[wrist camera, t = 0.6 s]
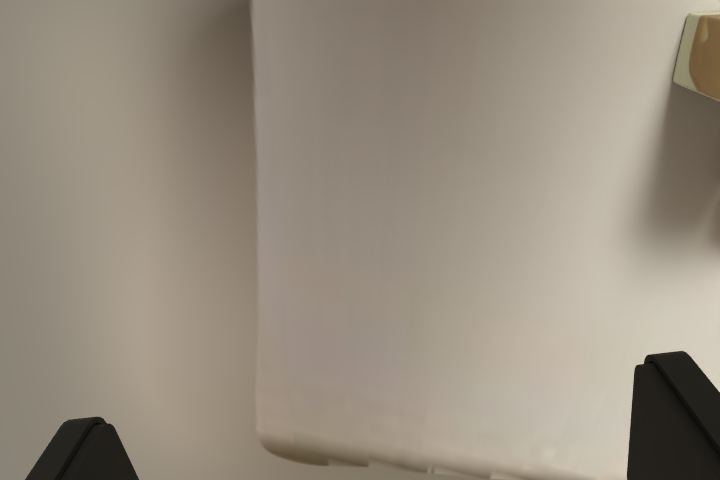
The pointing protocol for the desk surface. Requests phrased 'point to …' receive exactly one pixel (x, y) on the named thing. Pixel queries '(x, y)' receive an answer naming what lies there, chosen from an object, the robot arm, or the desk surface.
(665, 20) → the desk surface
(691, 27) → the skincare box
